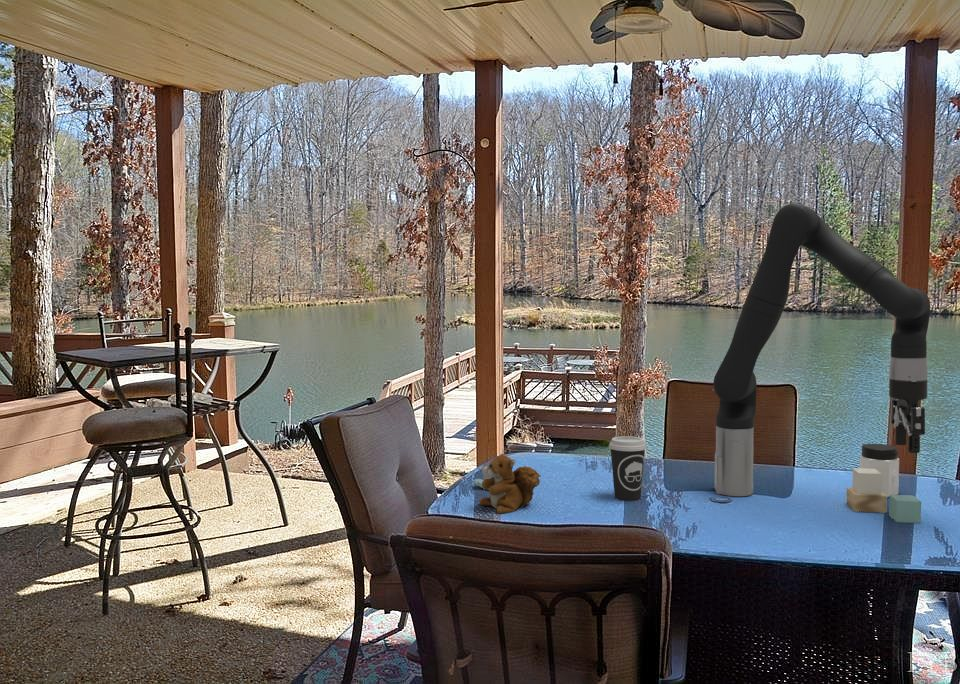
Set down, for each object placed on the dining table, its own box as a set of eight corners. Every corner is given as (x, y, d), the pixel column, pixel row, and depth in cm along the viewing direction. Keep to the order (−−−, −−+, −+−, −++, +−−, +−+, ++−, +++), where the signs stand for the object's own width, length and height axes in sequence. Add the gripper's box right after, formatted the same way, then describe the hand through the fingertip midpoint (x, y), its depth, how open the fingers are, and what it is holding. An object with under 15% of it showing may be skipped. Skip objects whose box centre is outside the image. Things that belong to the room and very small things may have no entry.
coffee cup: (650, 494, 198) (650, 437, 197) (641, 504, 190) (642, 444, 189) (614, 490, 202) (614, 434, 201) (604, 500, 194) (604, 441, 193)
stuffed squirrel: (476, 505, 191) (475, 452, 190) (527, 498, 197) (527, 447, 196) (491, 515, 182) (491, 460, 181) (545, 508, 187) (544, 455, 186)
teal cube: (896, 522, 173) (896, 500, 173) (889, 515, 178) (889, 494, 178) (920, 523, 172) (921, 501, 172) (912, 517, 177) (913, 495, 177)
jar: (884, 499, 191) (885, 451, 190) (853, 492, 198) (854, 446, 197) (904, 493, 196) (905, 447, 195) (872, 487, 203) (873, 442, 202)
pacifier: (482, 484, 212) (472, 489, 206) (482, 462, 211) (472, 466, 206) (506, 487, 208) (496, 492, 203) (506, 464, 208) (496, 468, 203)
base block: (854, 511, 181) (854, 494, 181) (846, 503, 188) (846, 487, 188) (886, 512, 180) (886, 496, 180) (877, 504, 187) (877, 488, 186)
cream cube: (858, 493, 182) (858, 473, 181) (852, 488, 187) (852, 468, 186) (881, 494, 181) (881, 473, 180) (874, 489, 186) (875, 468, 185)
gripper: (880, 374, 181) (879, 442, 182) (900, 381, 167) (899, 455, 168) (915, 374, 179) (914, 442, 180) (938, 381, 165) (937, 455, 166)
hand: (907, 448), depth 174 cm, fingers open, 8 cm apart
